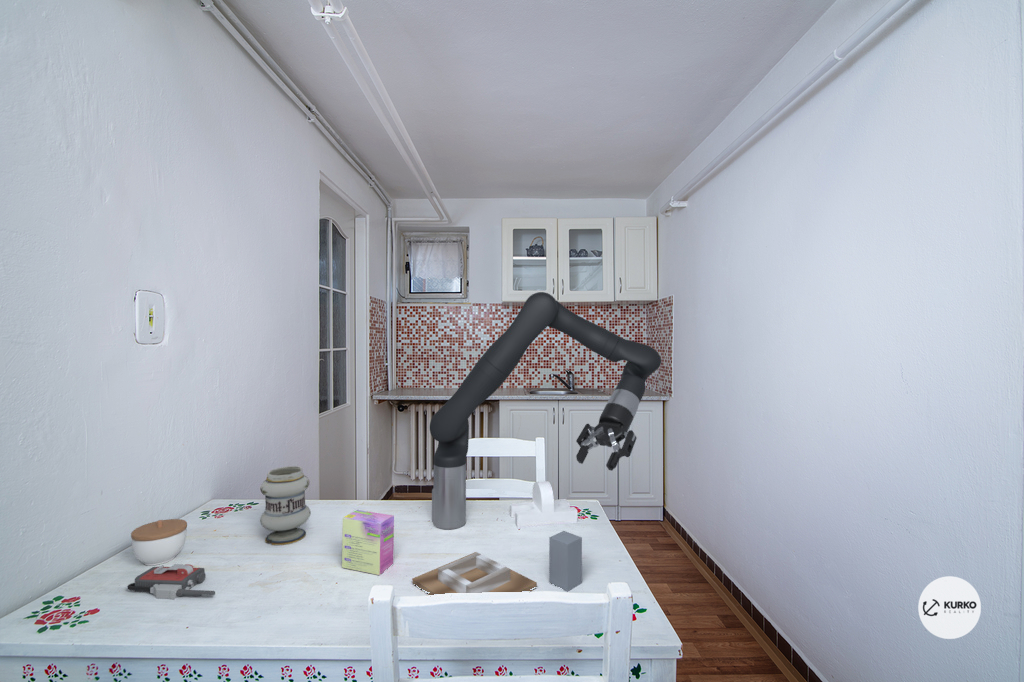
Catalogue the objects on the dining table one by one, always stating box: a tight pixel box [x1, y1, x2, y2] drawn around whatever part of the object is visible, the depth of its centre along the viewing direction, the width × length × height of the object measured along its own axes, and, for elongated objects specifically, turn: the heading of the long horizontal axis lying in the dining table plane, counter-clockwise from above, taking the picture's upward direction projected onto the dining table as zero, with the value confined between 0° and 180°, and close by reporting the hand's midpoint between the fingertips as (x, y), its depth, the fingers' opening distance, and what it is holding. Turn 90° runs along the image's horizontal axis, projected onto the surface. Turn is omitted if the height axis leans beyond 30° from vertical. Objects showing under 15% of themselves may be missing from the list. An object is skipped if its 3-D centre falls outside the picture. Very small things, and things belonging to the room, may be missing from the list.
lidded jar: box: [130, 518, 188, 567], centre depth 112 cm, size 11×11×9 cm
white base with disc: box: [509, 480, 578, 528], centre depth 138 cm, size 18×10×11 cm, turn 103°
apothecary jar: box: [259, 465, 311, 546], centre depth 124 cm, size 12×12×18 cm
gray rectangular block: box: [548, 530, 583, 593], centre depth 102 cm, size 5×5×10 cm
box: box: [341, 509, 395, 576], centre depth 109 cm, size 10×6×12 cm, turn 71°
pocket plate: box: [411, 551, 538, 596], centre depth 100 cm, size 20×18×4 cm
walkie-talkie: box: [127, 563, 216, 600], centre depth 99 cm, size 9×4×20 cm
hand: (593, 465), depth 110 cm, fingers open, 8 cm apart
